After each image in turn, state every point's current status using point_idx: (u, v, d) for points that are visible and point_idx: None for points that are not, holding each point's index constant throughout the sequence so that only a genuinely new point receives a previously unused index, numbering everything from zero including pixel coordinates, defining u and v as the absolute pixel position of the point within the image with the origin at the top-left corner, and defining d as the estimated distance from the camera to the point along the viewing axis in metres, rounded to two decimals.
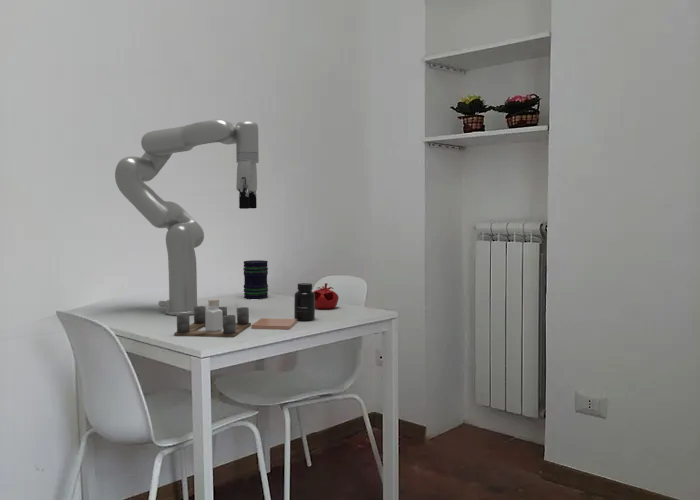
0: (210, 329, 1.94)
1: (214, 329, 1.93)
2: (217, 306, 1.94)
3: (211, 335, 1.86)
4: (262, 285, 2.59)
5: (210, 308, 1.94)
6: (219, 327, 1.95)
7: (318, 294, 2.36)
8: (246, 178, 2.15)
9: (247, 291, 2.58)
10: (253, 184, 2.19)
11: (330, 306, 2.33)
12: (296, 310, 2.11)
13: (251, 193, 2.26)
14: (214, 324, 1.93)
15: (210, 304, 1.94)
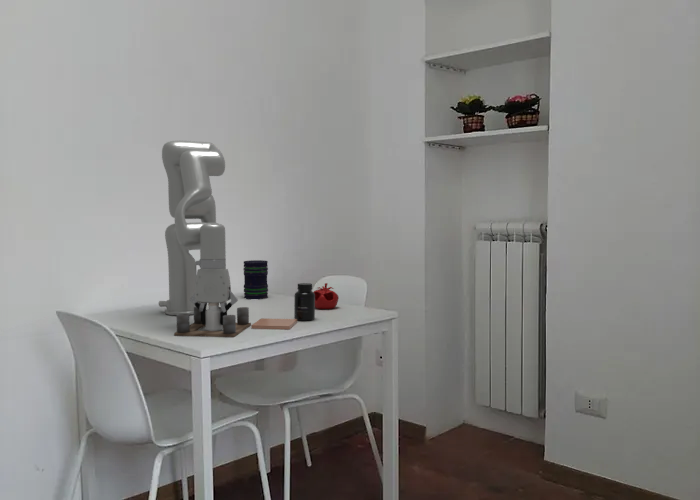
0: (210, 329, 1.94)
1: (214, 329, 1.93)
2: (217, 306, 1.94)
3: (211, 335, 1.86)
4: (262, 285, 2.59)
5: (210, 308, 1.94)
6: (219, 327, 1.95)
7: (318, 294, 2.36)
8: (230, 287, 1.95)
9: (247, 291, 2.58)
10: None
11: (330, 306, 2.33)
12: (296, 310, 2.11)
13: None
14: (214, 324, 1.93)
15: (210, 304, 1.94)
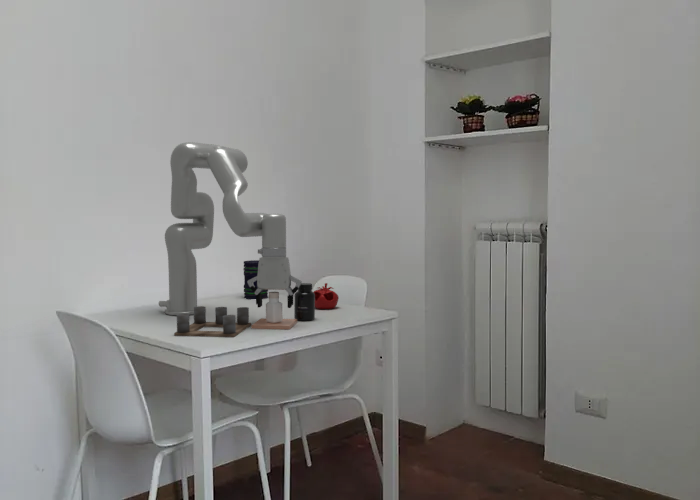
0: (271, 321, 2.01)
1: (275, 321, 2.01)
2: (277, 299, 2.02)
3: (211, 335, 1.86)
4: None
5: (271, 301, 2.02)
6: (279, 319, 2.03)
7: (318, 294, 2.36)
8: (290, 275, 2.03)
9: (247, 291, 2.58)
10: None
11: (330, 306, 2.33)
12: (296, 310, 2.11)
13: None
14: (275, 316, 2.01)
15: (271, 297, 2.01)
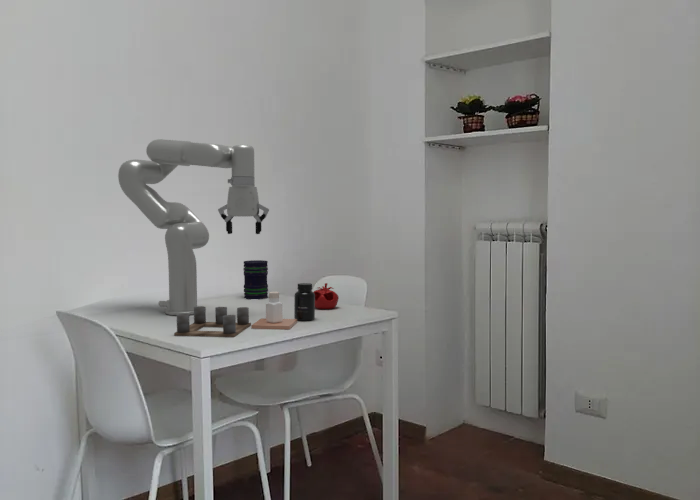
0: (271, 321, 2.01)
1: (275, 321, 2.01)
2: (277, 299, 2.02)
3: (211, 335, 1.86)
4: (262, 285, 2.59)
5: (271, 301, 2.02)
6: (279, 319, 2.03)
7: (318, 294, 2.36)
8: (258, 203, 2.16)
9: (247, 291, 2.58)
10: None
11: (330, 306, 2.33)
12: (296, 310, 2.11)
13: None
14: (275, 316, 2.01)
15: (271, 297, 2.02)
